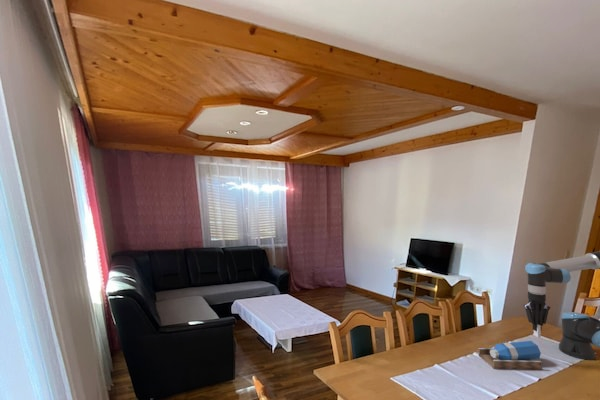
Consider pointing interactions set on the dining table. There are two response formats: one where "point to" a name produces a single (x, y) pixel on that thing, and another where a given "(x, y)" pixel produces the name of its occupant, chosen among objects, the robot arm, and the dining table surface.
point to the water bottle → (516, 351)
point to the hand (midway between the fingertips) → (537, 336)
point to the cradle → (508, 362)
